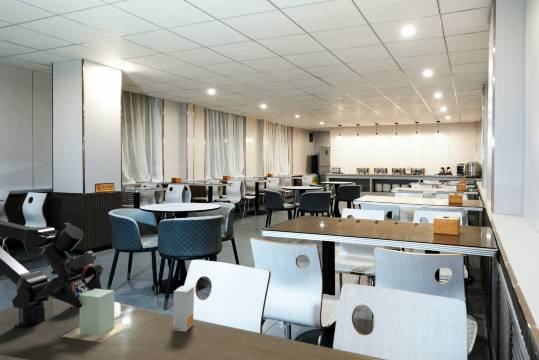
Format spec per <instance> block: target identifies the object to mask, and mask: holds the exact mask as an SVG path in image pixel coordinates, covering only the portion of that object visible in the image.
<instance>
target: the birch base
mask: <svg viewBox="0 0 539 360" xmlns="http://www.w3.org/2000/svg"><path fill="white" fill-rule="evenodd" d="M129 326H130V324H128V323H127V324H126V323H120V322H114V328H112V329H111V330H109V331H107V332H106V333H104V334H102V335H100V336H95V335H88V334H81V333H80V326H79V327H77V328H74V329H73V330H71V331H69V332H67V333H65V334H63V335H61V337H64V338H70V339H74V340H75V339H77V340H83V341H90V342H96V343H103V342H105V341H106V340H107V339H108V340H109V338H111V337H112V336H114V335H116V334H117V333H119V332H121V331H123V330H124V329H126V328H128V327H129Z"/></svg>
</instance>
